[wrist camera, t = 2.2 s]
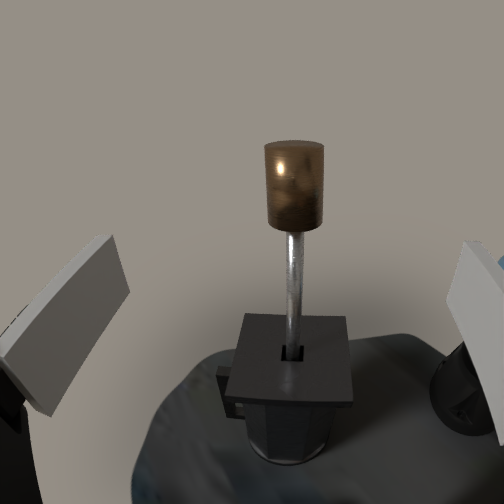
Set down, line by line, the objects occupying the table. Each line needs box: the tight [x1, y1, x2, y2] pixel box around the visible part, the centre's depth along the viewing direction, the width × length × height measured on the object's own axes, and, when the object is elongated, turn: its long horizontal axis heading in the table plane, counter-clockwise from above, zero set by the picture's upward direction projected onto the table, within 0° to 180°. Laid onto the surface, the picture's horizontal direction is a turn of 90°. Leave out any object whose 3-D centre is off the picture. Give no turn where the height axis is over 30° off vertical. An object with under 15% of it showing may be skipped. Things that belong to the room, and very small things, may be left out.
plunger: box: [264, 140, 324, 362], centre depth 24 cm, size 7×7×22 cm
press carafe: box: [216, 313, 353, 466], centre depth 31 cm, size 13×10×16 cm
